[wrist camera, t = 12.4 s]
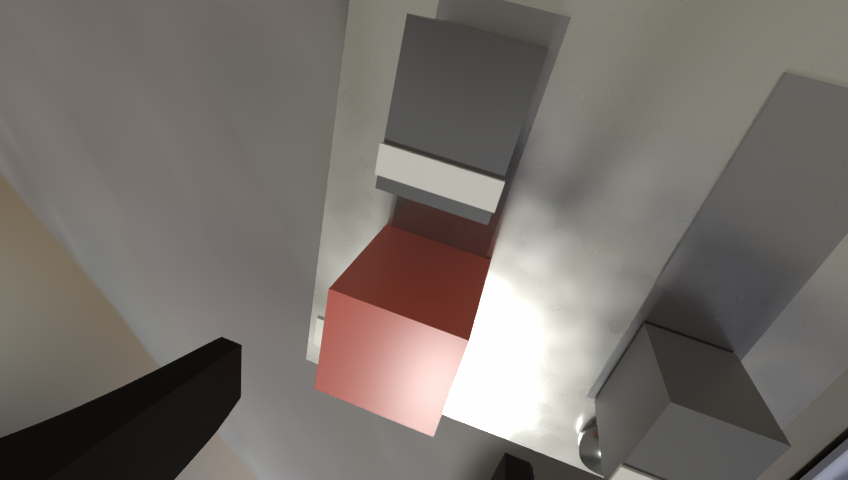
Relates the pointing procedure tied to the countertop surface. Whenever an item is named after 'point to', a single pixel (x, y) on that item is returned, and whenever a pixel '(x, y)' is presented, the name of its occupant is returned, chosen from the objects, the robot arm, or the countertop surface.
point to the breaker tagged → (456, 115)
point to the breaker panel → (627, 200)
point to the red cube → (400, 327)
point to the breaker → (683, 414)
